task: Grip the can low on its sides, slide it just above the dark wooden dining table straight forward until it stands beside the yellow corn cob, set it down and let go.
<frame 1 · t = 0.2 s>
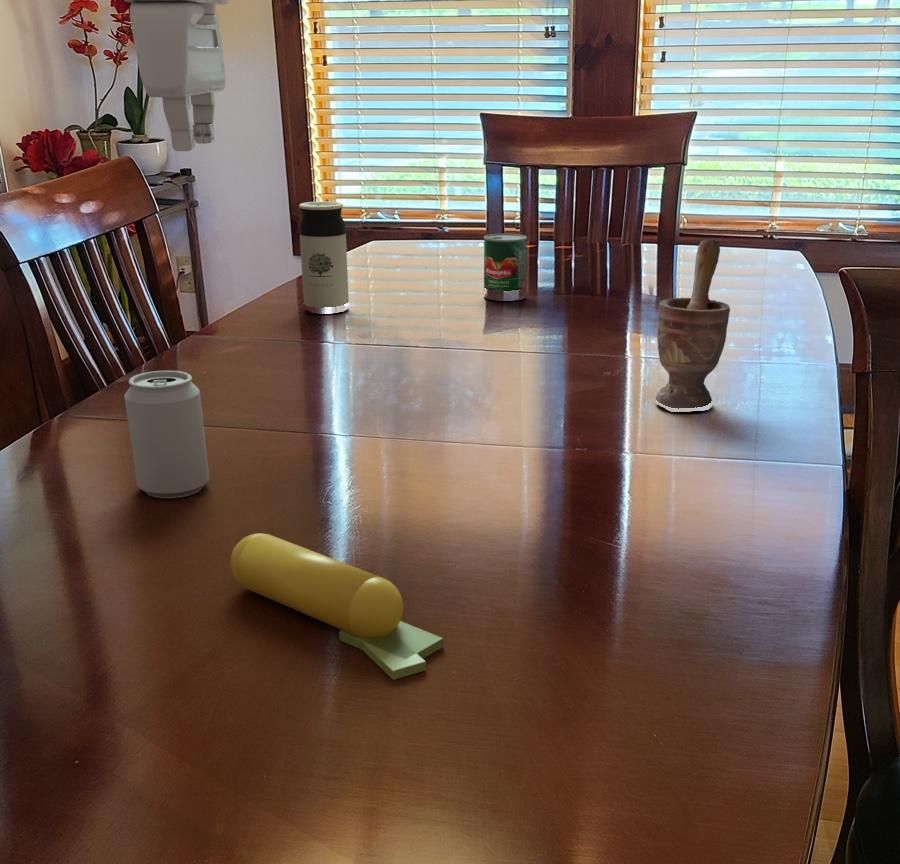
hand: (194, 146, 104), 33 cm above the table, tool pointing down, fingers open, 8 cm apart
corn cob: (315, 611, 89), on the table
canned tomato: (504, 298, 202), on the table
mortar and pestle: (682, 403, 141), on the table
can: (174, 490, 114), on the table
travel mug: (326, 311, 192), on the table
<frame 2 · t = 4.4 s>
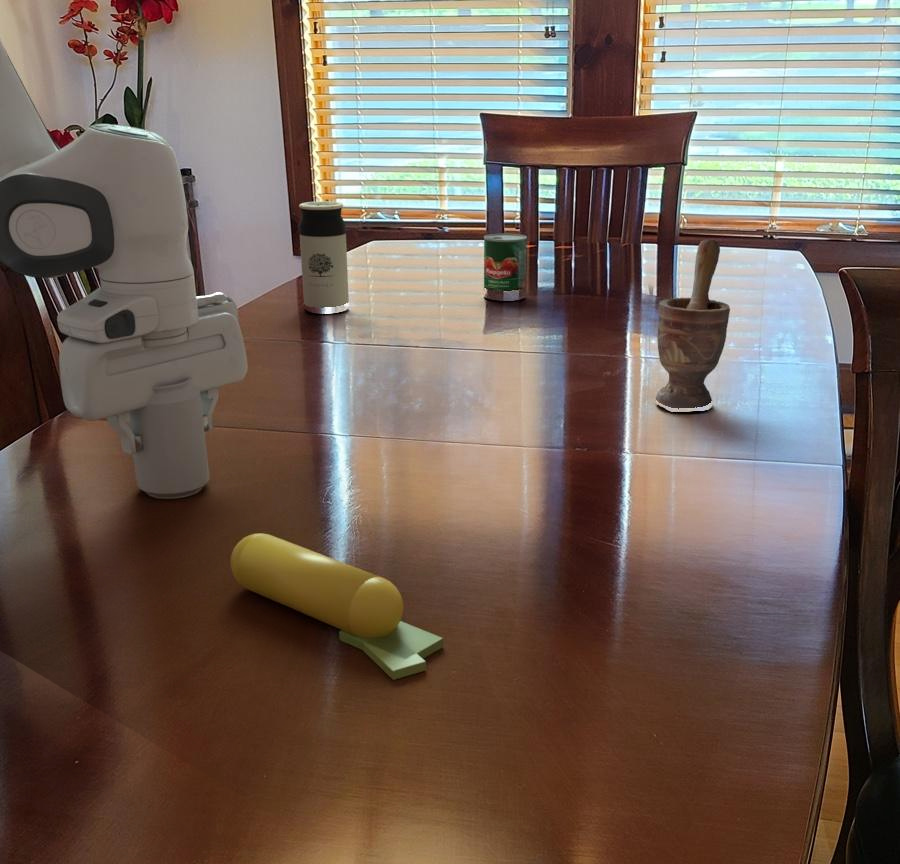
hand: (168, 441, 111), 5 cm above the table, tool pointing down, fingers closed on can, 7 cm apart
can: (174, 490, 114), on the table, touching gripper
everything else where it was.
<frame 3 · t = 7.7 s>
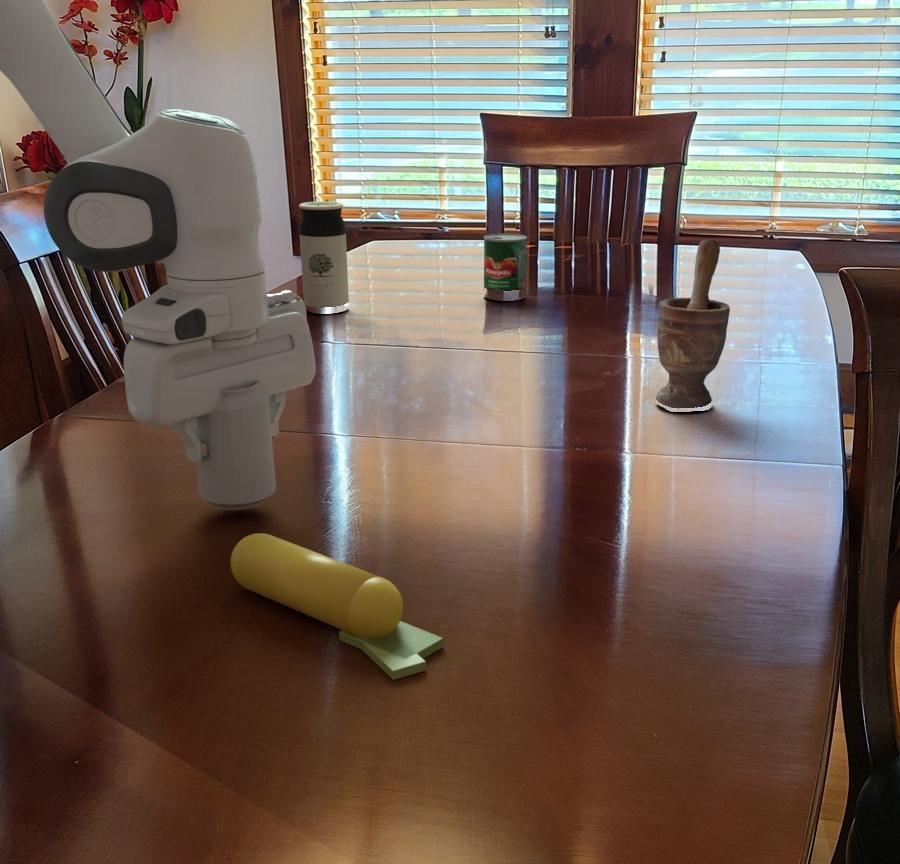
hand: (233, 448, 105), 7 cm above the table, tool pointing down, fingers closed on can, 7 cm apart
can: (238, 500, 107), point 1 cm above the table, touching gripper
everything else where it was.
when the fingers open (5 cm above the table, at t = 11.1 s): can stays where it is, on the table.
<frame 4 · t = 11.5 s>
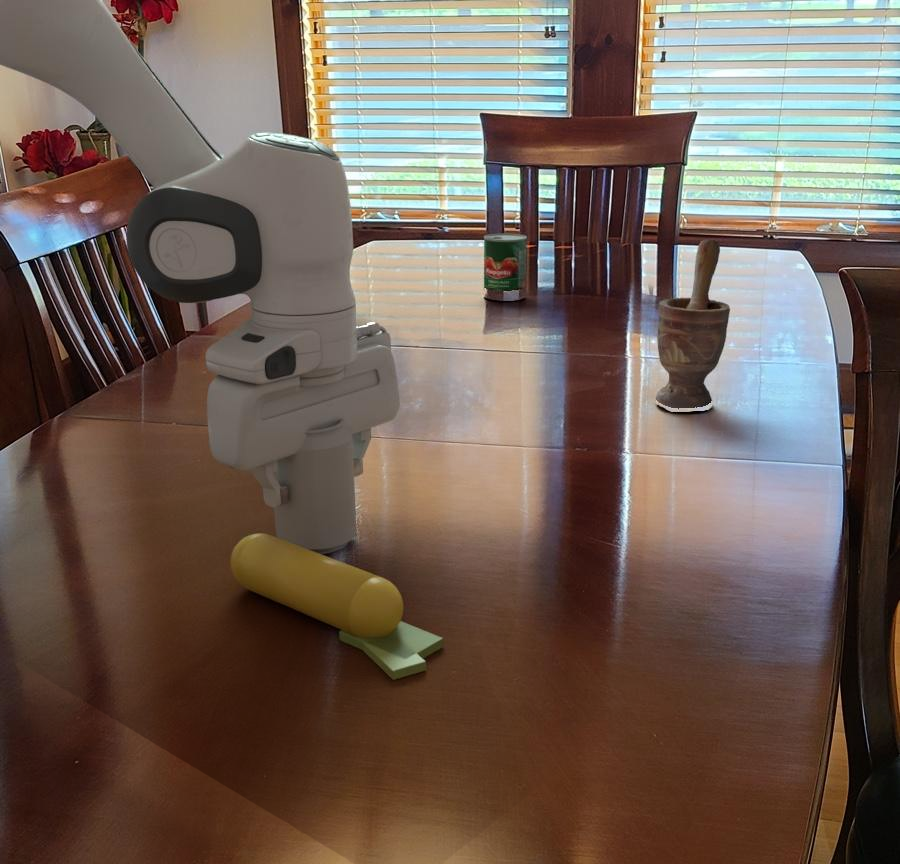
hand: (315, 489, 99), 5 cm above the table, tool pointing down, fingers open, 8 cm apart
can: (317, 543, 101), on the table
everything else where it was.
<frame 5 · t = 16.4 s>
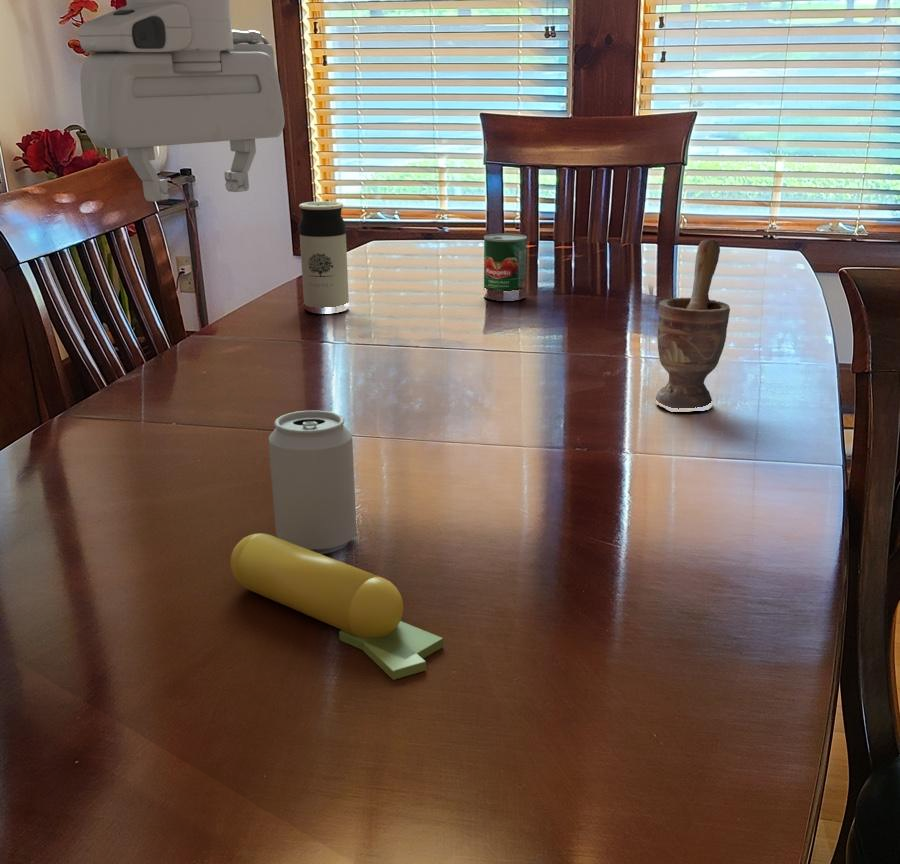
hand: (198, 195, 101), 29 cm above the table, tool pointing down, fingers open, 8 cm apart
nothing on the table moved.
at the end: can 14.2 cm from the corn cob (horizontally); can tilted 0°; can moved 21.8 cm from its start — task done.
